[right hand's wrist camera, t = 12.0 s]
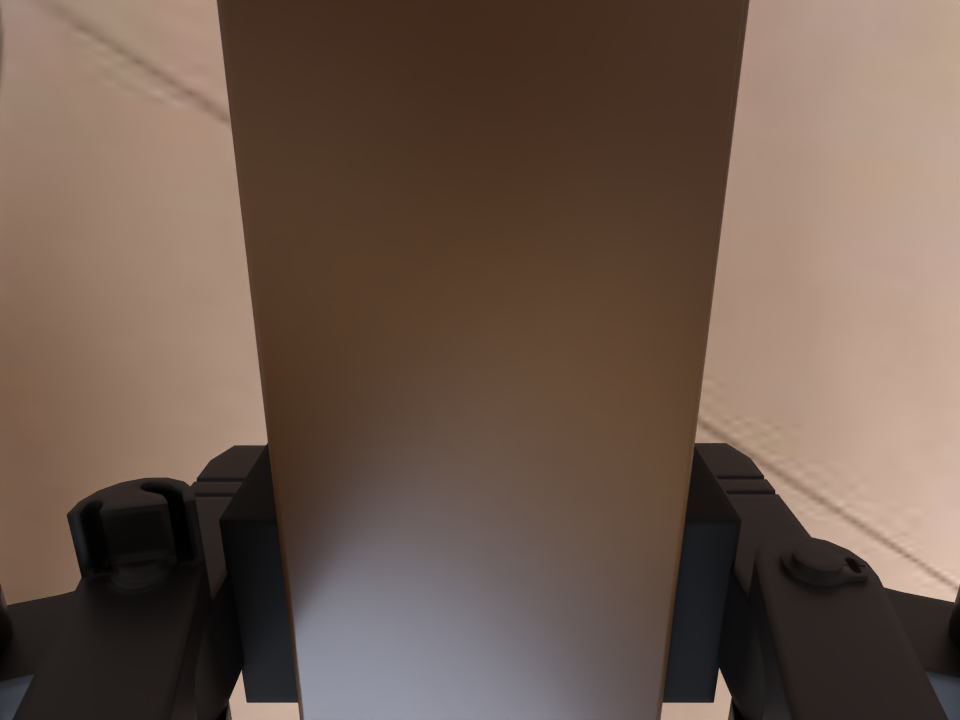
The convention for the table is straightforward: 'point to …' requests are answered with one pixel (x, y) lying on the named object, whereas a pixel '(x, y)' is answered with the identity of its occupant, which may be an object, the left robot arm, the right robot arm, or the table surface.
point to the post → (481, 336)
